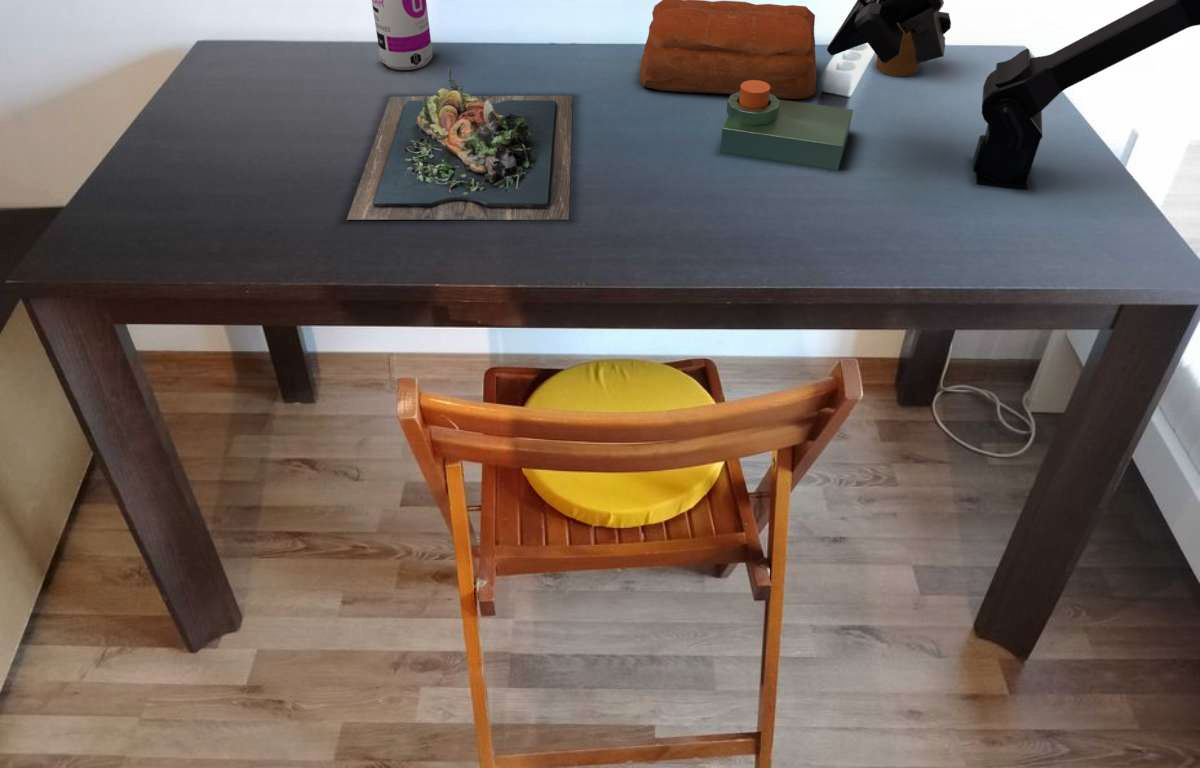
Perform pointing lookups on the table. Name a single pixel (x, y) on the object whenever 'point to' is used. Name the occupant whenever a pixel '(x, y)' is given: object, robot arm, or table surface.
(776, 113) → the block
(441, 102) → the plated dish
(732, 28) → the bread
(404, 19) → the supplement can
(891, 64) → the disposable coffee cup
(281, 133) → the table surface
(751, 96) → the button
